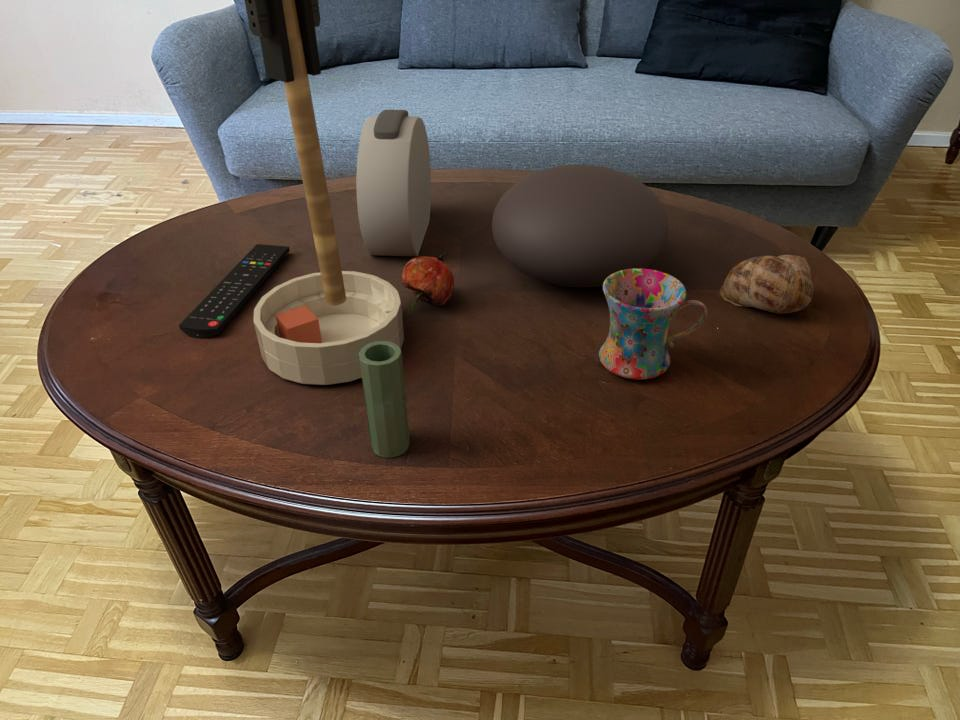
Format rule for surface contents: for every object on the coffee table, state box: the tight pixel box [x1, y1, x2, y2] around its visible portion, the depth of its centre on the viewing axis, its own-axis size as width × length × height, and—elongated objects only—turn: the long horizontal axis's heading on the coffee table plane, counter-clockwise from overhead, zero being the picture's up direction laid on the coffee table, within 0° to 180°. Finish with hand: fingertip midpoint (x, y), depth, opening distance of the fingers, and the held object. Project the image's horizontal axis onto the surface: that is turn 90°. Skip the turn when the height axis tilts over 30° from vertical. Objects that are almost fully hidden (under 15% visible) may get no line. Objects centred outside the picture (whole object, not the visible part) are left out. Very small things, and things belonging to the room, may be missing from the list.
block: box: [275, 305, 322, 343], centre depth 89 cm, size 4×4×4 cm
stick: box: [282, 0, 346, 305], centre depth 61 cm, size 2×2×30 cm
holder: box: [359, 341, 410, 459], centre depth 72 cm, size 4×4×12 cm
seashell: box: [719, 254, 814, 315], centre depth 96 cm, size 10×9×10 cm
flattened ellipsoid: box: [491, 163, 670, 288], centre depth 102 cm, size 25×25×15 cm
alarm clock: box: [355, 109, 432, 258], centre depth 110 cm, size 21×8×20 cm, turn 175°
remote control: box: [178, 243, 291, 339], centre depth 102 cm, size 5×24×1 cm, turn 169°
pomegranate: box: [401, 251, 455, 316], centre depth 97 cm, size 7×7×10 cm
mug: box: [598, 268, 708, 381], centre depth 84 cm, size 12×9×11 cm
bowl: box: [252, 270, 405, 386], centre depth 89 cm, size 18×18×6 cm
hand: (293, 74), depth 58 cm, fingers closed on stick, 2 cm apart
